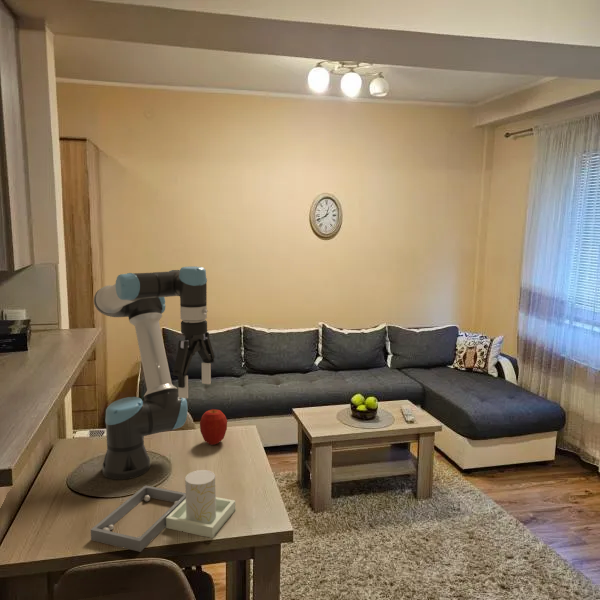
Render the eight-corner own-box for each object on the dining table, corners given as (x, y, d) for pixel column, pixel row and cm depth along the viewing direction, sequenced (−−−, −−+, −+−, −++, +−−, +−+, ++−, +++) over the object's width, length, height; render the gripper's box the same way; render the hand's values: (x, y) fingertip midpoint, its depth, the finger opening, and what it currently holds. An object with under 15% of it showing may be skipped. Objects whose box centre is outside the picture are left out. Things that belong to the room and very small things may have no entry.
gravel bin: (91, 540, 135) (90, 529, 135) (145, 494, 158) (145, 485, 157) (140, 551, 131) (140, 541, 130) (189, 503, 153) (188, 493, 153)
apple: (226, 448, 190) (226, 412, 188) (198, 449, 189) (198, 412, 187) (228, 436, 200) (227, 402, 198) (201, 437, 199) (201, 402, 197)
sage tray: (166, 528, 141) (166, 517, 140) (192, 501, 154) (192, 492, 153) (212, 538, 136) (212, 527, 136) (235, 510, 150) (235, 500, 149)
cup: (190, 528, 140) (188, 486, 138) (183, 512, 147) (182, 473, 145) (219, 521, 143) (218, 480, 141) (211, 506, 150) (210, 467, 148)
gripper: (182, 329, 138) (184, 405, 141) (224, 313, 161) (225, 379, 164) (158, 327, 140) (160, 402, 143) (203, 312, 163) (204, 377, 167)
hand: (195, 390), depth 154 cm, fingers open, 13 cm apart
